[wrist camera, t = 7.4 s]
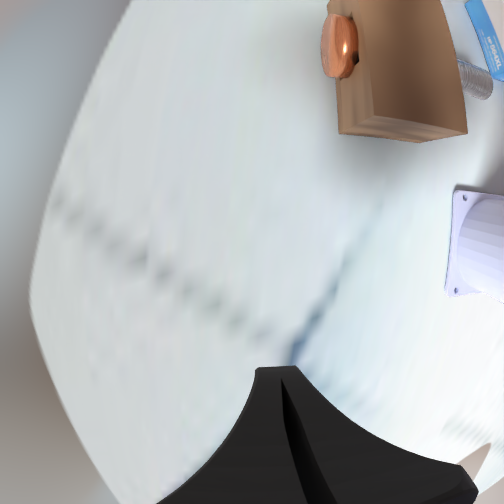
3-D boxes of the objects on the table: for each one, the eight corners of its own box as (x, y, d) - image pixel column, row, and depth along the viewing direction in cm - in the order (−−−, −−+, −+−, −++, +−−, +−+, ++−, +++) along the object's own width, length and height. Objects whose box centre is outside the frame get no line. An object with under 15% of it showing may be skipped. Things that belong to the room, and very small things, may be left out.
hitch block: (401, 21, 15) (436, -10, 10) (418, 143, 17) (467, 133, 12) (326, 5, 15) (349, -37, 10) (338, 133, 17) (374, 115, 12)
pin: (462, 67, 16) (493, 53, 12) (470, 113, 16) (504, 105, 12) (318, 32, 15) (335, 1, 11) (323, 85, 16) (343, 61, 12)
